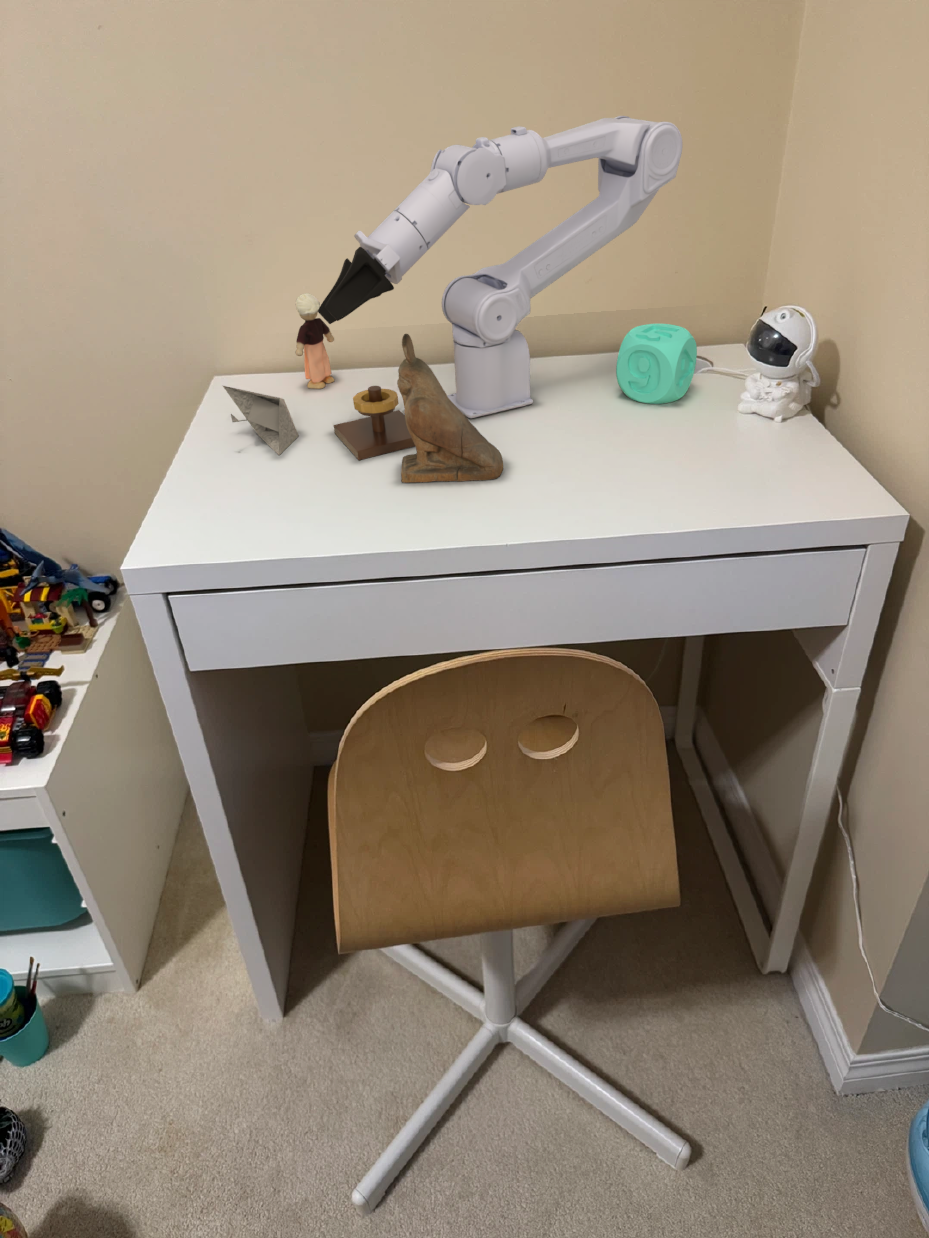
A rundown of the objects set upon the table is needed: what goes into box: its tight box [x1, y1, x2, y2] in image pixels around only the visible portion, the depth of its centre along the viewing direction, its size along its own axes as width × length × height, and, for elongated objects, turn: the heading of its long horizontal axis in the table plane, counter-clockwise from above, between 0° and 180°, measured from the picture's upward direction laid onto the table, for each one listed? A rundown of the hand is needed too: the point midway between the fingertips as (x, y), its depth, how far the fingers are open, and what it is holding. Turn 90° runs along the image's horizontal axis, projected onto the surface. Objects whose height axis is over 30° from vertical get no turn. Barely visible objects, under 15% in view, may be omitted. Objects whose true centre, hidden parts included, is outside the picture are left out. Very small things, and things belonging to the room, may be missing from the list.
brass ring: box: [352, 387, 399, 413], centre depth 110 cm, size 6×6×1 cm
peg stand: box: [333, 385, 416, 461], centre depth 111 cm, size 9×9×7 cm
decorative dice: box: [615, 323, 698, 405], centre depth 118 cm, size 8×8×8 cm
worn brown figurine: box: [396, 333, 504, 484], centre depth 100 cm, size 12×6×18 cm, turn 87°
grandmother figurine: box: [295, 292, 335, 390], centre depth 125 cm, size 8×4×13 cm, turn 160°
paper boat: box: [222, 385, 300, 456], centre depth 112 cm, size 12×6×9 cm
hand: (327, 316), depth 103 cm, fingers open, 7 cm apart
